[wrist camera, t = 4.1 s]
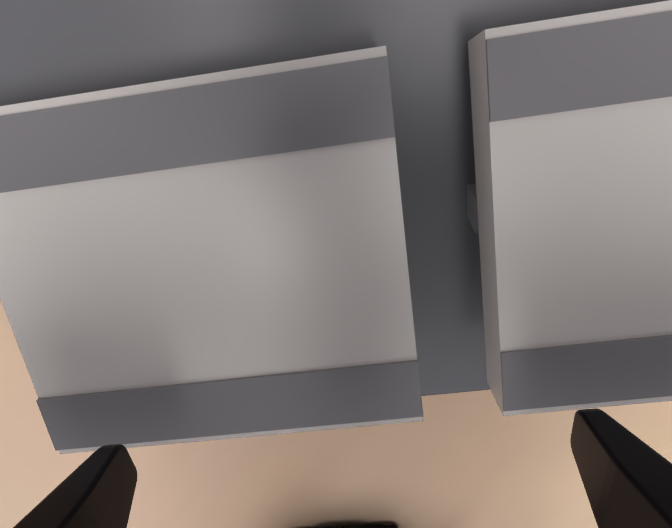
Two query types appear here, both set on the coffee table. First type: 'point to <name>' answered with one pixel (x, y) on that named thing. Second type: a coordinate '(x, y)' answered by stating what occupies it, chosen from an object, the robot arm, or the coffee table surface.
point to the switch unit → (304, 42)
